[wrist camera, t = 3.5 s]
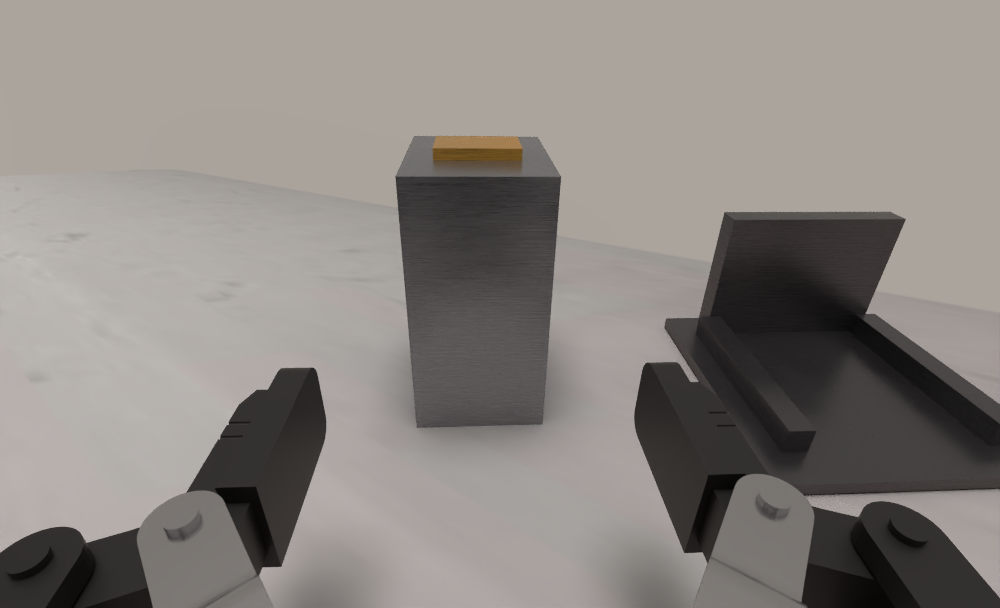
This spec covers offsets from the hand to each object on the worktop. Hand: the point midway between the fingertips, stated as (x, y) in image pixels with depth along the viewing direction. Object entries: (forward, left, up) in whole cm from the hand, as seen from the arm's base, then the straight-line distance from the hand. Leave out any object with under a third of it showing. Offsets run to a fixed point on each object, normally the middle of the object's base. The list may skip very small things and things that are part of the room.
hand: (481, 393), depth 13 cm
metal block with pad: (-3, +8, -6) cm, 10 cm away
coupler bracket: (+12, +12, -6) cm, 18 cm away
